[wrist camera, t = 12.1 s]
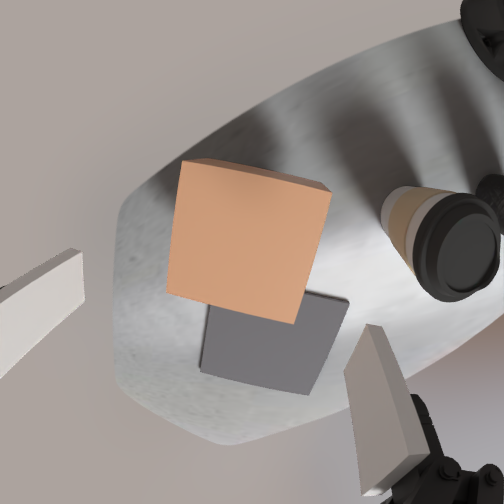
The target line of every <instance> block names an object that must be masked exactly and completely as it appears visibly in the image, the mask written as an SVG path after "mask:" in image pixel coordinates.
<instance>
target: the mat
mask: <svg viewBox="0 0 504 504" xmlns="http://www.w3.org/2000/svg"><path fill="white" fill-rule="evenodd" d="M348 307H349V302H348V301H343V300H339V299H334V298H330V297H325V296H321V295H316V294H312V293H307V292H304V294H303V297H302V301H301V304H300V307H299V310H298V313H297V316H296V319H295V322H294V324H290V323H285V322H281V321H276V320H272V319H267V318H263V317H259V316H254V315H250V314H246V313H242V312H238V311H233V310H229V309H225V308H221V307H217V306H214V305H210V311H209V317H208V323H207V330H206V336H205V343H204V350H203V356H202V363H201V370H200V372H203V373H206V374H210V375H214V376H217V377H221V378H225V379H229V380H233V381H238V382H242V383H246V384H251V385H255V386H260V387H265V388H269V389H275V390H280V391H285V392H291V393H296V394H302V395H309V394H310V392H311V390H312V388H313V386H314V384H315V382H316V380H317V378H318V376H319V373H320V371H321V369H322V367H323V365H324V363H325V361H326V358H327V356H328V354H329V352H330V350H331V347H332V345H333V343H334V341H335V338H336V336H337V334H338V331H339V329H340V327H341V324H342V322H343V319H344V317H345V314H346V312H347V309H348Z"/></svg>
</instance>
